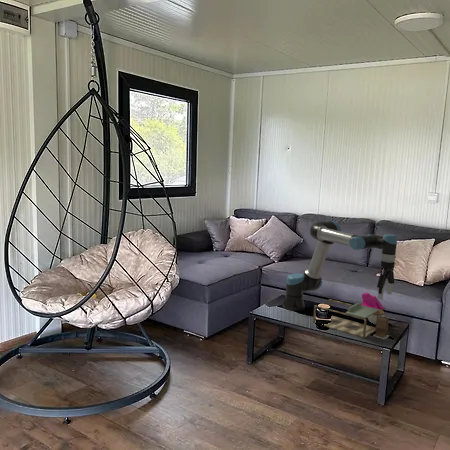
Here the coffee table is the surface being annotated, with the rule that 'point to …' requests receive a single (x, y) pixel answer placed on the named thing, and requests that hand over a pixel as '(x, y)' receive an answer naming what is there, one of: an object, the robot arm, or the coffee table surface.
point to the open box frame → (347, 323)
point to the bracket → (371, 301)
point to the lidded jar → (375, 316)
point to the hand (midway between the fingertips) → (384, 296)
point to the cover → (361, 310)
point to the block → (382, 326)
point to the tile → (381, 337)
